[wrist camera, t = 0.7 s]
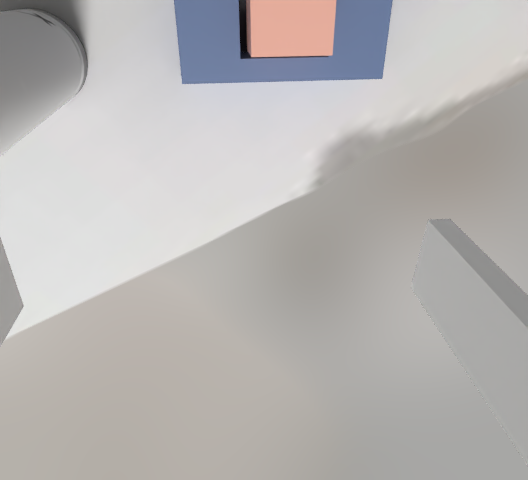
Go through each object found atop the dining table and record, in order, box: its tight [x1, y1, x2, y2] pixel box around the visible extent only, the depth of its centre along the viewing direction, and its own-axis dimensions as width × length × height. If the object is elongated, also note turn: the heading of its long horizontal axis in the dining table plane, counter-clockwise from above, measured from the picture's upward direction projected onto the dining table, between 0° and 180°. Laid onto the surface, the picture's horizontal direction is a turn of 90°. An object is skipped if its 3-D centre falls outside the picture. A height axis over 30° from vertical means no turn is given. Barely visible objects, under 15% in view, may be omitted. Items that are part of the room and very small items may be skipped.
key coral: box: [246, 0, 336, 57], centre depth 26 cm, size 5×5×4 cm
